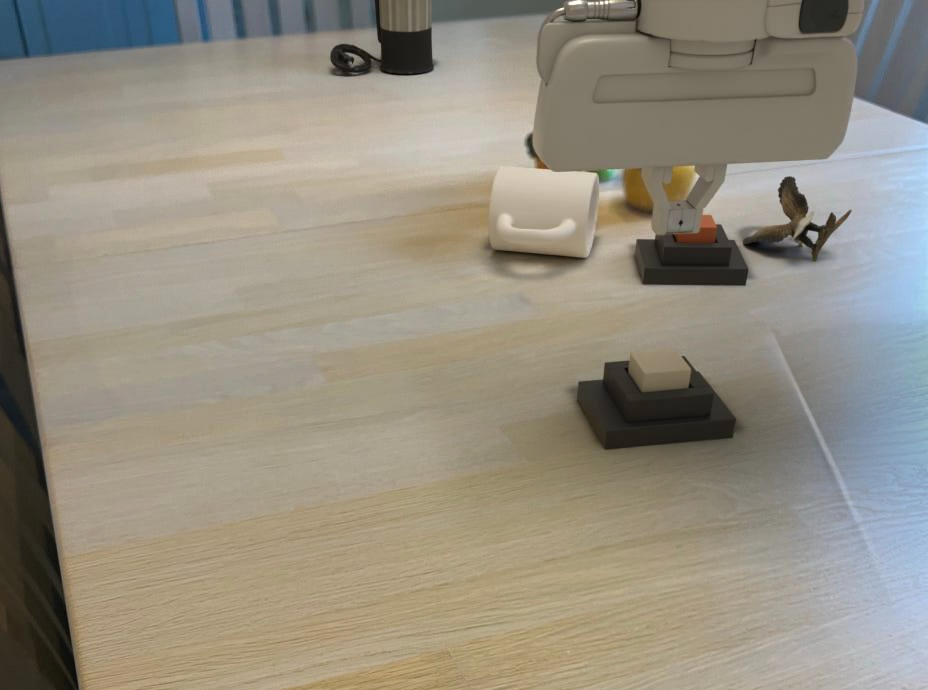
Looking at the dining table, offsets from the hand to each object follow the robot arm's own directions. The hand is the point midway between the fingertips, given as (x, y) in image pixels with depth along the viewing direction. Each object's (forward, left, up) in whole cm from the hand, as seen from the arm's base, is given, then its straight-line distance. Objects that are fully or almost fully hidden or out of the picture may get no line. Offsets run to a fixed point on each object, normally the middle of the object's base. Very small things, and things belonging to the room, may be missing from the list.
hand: (674, 231), depth 69 cm
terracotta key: (-7, -31, -11) cm, 34 cm away
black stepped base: (0, 0, -14) cm, 14 cm away
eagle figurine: (-18, -37, -14) cm, 44 cm away
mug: (+8, -34, -14) cm, 38 cm away
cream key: (0, 0, -11) cm, 11 cm away
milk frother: (+32, -120, -14) cm, 125 cm away
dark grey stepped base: (-7, -31, -14) cm, 35 cm away
